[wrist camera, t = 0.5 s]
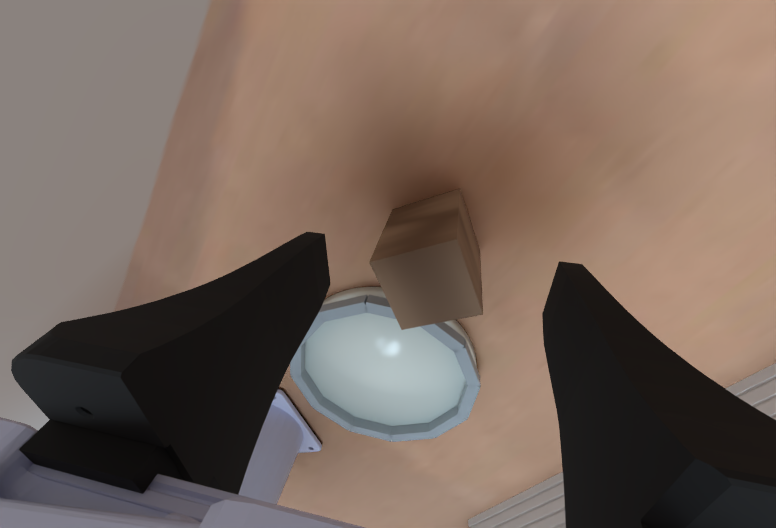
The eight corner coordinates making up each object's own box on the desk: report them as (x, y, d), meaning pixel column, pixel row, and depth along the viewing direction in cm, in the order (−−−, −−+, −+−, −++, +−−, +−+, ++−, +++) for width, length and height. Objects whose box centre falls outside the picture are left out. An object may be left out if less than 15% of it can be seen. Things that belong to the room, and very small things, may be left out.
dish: (345, 425, 33) (339, 446, 32) (269, 308, 28) (256, 326, 26) (497, 409, 29) (498, 432, 27) (442, 266, 23) (440, 284, 21)
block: (416, 266, 24) (401, 330, 19) (392, 209, 22) (369, 262, 17) (480, 250, 22) (482, 314, 17) (460, 188, 20) (456, 239, 15)
